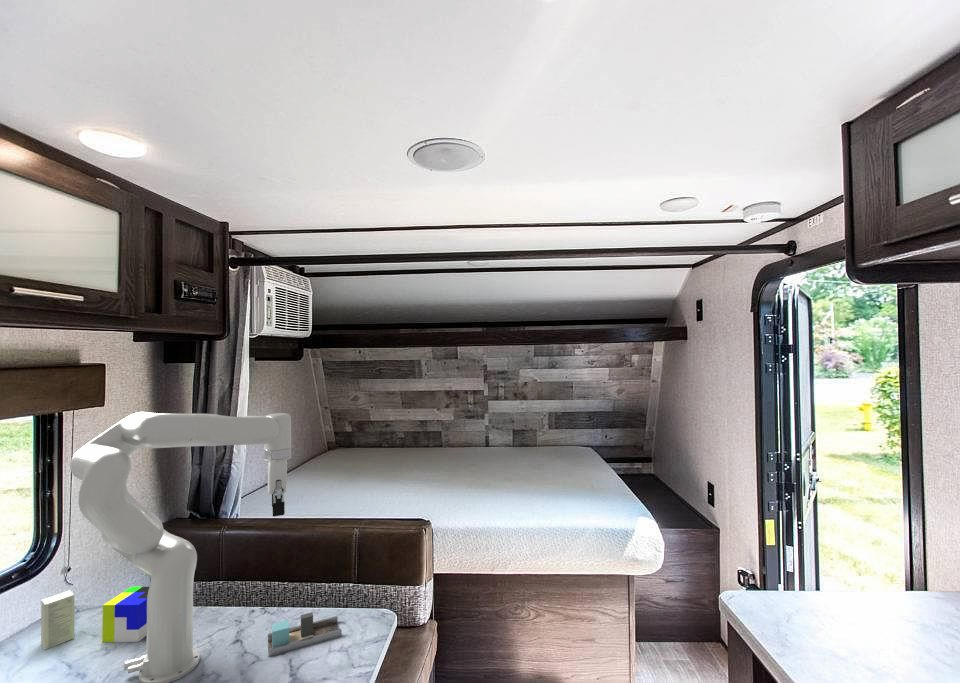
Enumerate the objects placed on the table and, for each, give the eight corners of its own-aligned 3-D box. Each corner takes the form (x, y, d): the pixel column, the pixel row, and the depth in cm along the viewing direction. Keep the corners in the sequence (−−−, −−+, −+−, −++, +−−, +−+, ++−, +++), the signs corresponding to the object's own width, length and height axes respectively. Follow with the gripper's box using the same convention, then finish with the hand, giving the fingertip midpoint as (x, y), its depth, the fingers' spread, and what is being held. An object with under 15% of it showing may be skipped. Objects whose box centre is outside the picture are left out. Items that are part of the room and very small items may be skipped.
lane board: (268, 660, 114) (268, 650, 114) (267, 642, 121) (267, 633, 121) (341, 639, 122) (341, 630, 122) (337, 624, 129) (337, 615, 129)
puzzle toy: (138, 642, 123) (138, 604, 123) (102, 642, 123) (102, 605, 123) (164, 620, 133) (164, 586, 133) (131, 621, 133) (131, 586, 133)
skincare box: (70, 633, 128) (71, 589, 128) (74, 638, 125) (75, 593, 125) (39, 644, 122) (40, 599, 123) (43, 650, 120) (44, 604, 120)
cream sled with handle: (272, 652, 116) (272, 629, 116) (272, 640, 121) (272, 618, 121) (313, 641, 120) (313, 619, 120) (311, 630, 125) (311, 608, 125)
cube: (272, 647, 116) (272, 631, 117) (272, 639, 120) (272, 623, 120) (289, 643, 118) (289, 627, 118) (288, 635, 122) (288, 619, 122)
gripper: (264, 450, 144) (264, 504, 143) (264, 461, 129) (264, 521, 128) (289, 448, 147) (289, 501, 147) (292, 458, 132) (293, 517, 131)
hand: (278, 510), depth 137 cm, fingers open, 9 cm apart
